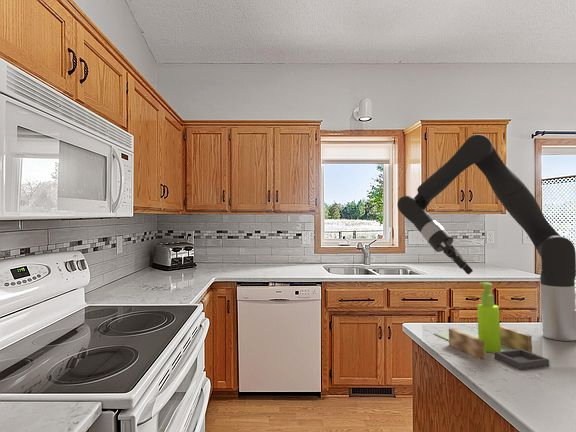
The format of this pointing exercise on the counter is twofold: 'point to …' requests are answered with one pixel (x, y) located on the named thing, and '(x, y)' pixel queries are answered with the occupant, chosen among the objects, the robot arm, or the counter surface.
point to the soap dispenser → (489, 320)
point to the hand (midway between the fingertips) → (467, 269)
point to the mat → (446, 334)
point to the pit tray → (521, 359)
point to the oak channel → (477, 345)
